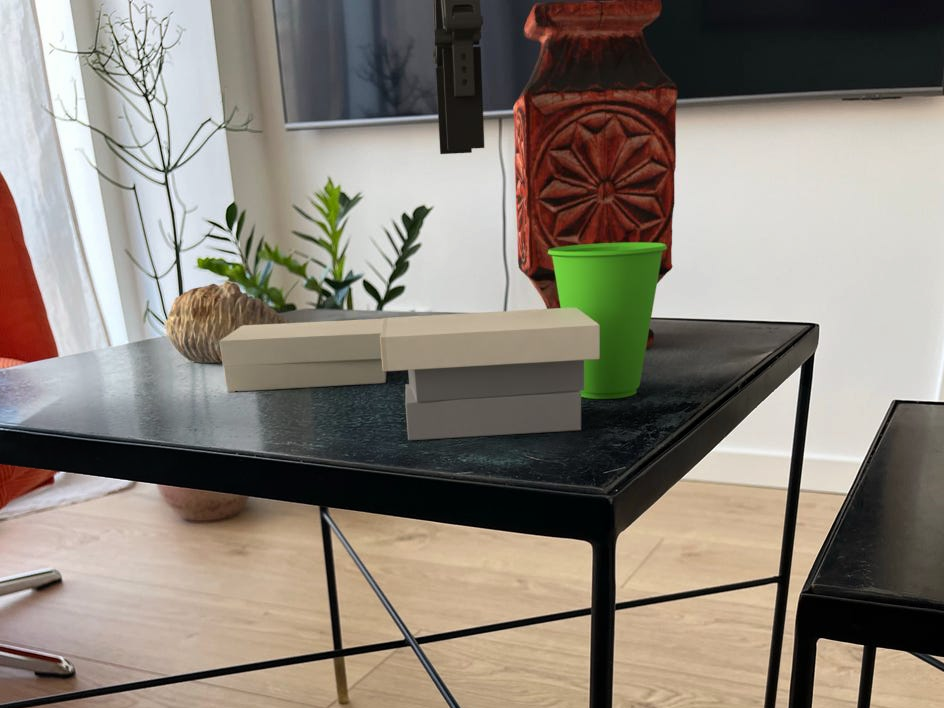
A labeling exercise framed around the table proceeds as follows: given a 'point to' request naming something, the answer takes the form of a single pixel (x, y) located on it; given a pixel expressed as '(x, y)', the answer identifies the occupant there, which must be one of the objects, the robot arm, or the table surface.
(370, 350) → the white pile
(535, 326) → the white book
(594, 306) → the cup
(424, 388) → the grey books
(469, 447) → the table surface
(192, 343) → the seashell
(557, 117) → the vase
